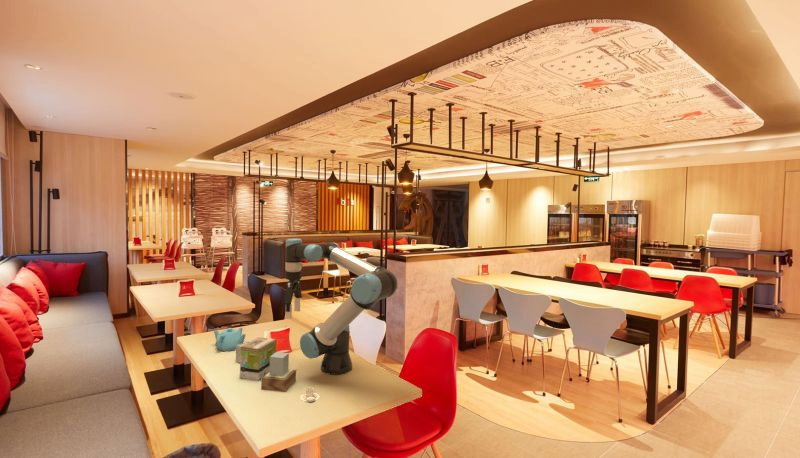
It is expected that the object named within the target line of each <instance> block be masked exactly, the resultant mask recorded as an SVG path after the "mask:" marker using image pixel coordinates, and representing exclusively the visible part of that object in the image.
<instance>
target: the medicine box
mask: <svg viewBox="0 0 800 458" xmlns="http://www.w3.org/2000/svg"><path fill="white" fill-rule="evenodd" d="M249 342H251V341H246V342H243V343H242V344H239V345H236V350H235V362H236V363H239V364H240V360H241V346H243V345H245V344H247V343H249Z"/></svg>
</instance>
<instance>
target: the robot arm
mask: <svg viewBox="0 0 800 458" xmlns="http://www.w3.org/2000/svg"><path fill="white" fill-rule="evenodd" d="M284 249H285V263H284V265H285V266H284V268H285V277H284V278H285V280H288V282H286V288H285V294H284V300H283V305H284V306H285V317H284V318H285V319H288V320H289V319H292V318H293V314H292V313H293V312H292V311H294V312H301V299H302V298H303V294H302V287H301V279H302V276H303V275H302V272H303V271H301V270H302V267H303V265H304V264H303V262H302V261H303V260H304V261H310V262H313V261H314V262H317V261H320V260H322V259H324V260H325V259H327V260H328V261H331V262H332V263H334V264H336V265H338V266H340V267H341V268H343V269H346V270H347V271H349V272H351V273H352V274H354V275H356V276H357V277H355V279H354V280H353V282H352V283H351V288H350V291H349V296H348V297H346V299H345V300H344V301H343V302H342V303H341V304H340V305H339V306H337V308H336V309H335V310H334V311H333V312H332V314H330V315H329V316H328V318H327V319H326V320H324V322H319V323H318V324H316V325H315V326H314V327H313V328H312V330H310V331H307V332H305V333H303V334H302V335H301V337H300V339H299V346H300V350H301V352H302V354H303V355H304V356H305V357H307V358H308V359H309V360H312V359H317V358H318V357H321V356H323V357H322V360H321V363H320V370H321V372H322V373H323V374H327V375H334V376H335V375H336V376H337V375H338V376H339V375H345V374H347V373H350V372H351V371H352V370H353V362H352V358H351V355H350V351H349V350H350V333H351V331H350V324H352V322H353V321H354V320H355V319H356V318H357V317H358V316H359V315H360V314H361V313H362V312H363V311H364V310H371V308H373V307H374V305H376V303H378V302H379V301H380V300H384V299H387V298H390V297H392V296H393V295H394V294H395V293H396V291H397V289H398V279H397V276H396V275H395V274H394V273H393V272H392V271H390V270H389V269H387V268H385V267H383V266H380V265H378V266H376V265H374V264H372V263H370V262H368V261H366V260H364V259H362V258H361V257H358V256H356V255H354V254H352V253H350V252H349V251H347V250H345V249H343V248H341V247H340V245H339V244H338V243H336V242H321V243H319V242H318V243H303V240H302V238H288V239H286V240H285V248H284ZM293 297H294V299H293ZM293 300H294V305H293V304H292V301H293ZM293 309H294V310H293Z"/></svg>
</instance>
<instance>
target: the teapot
mask: <svg viewBox="0 0 800 458" xmlns="http://www.w3.org/2000/svg"><path fill="white" fill-rule="evenodd" d="M213 332H214V333H213V334H214V337H215V348H217V350H219V351H222V352H232V351H236V345H239V344H242V343H245V339H246V336H247V335H246V333H243V327H239V328H238V329H233V327H227V328H226V329H224V330H222V331H221V332H219V331H218V330H217V329H216V330H214V331H213Z"/></svg>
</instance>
